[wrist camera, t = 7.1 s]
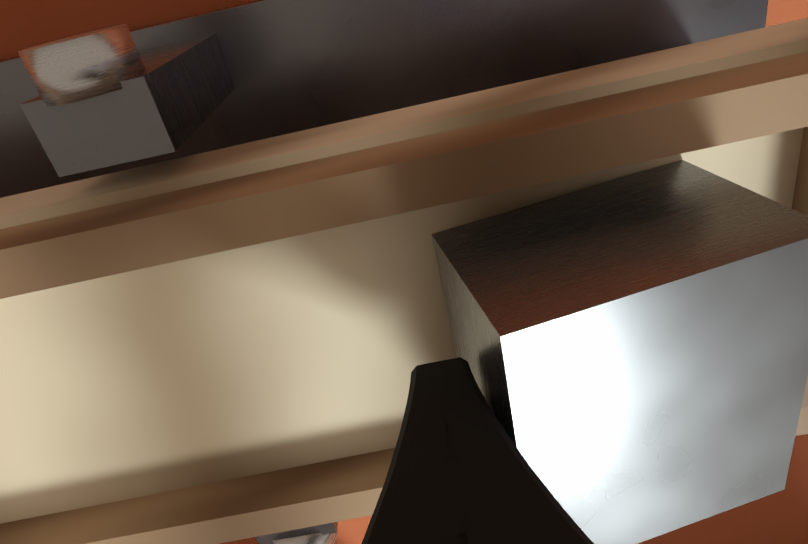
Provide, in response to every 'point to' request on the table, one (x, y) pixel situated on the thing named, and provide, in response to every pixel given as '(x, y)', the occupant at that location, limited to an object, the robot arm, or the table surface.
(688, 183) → the block
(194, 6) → the table surface
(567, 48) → the beam stand
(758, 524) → the table surface
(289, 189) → the beam
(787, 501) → the table surface
